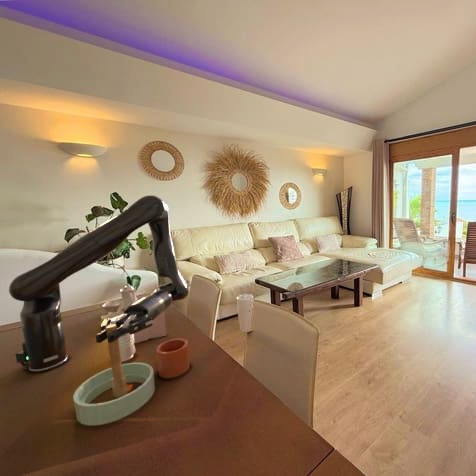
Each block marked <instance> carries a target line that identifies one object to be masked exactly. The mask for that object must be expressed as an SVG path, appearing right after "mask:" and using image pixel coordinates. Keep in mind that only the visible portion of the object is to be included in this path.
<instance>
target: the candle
mask: <svg viewBox="0 0 476 476" xmlns="http://www.w3.org/2000/svg"><path fill="white" fill-rule="evenodd" d="M117 317H118V316H117ZM117 317H114V318H112V319H111V320H113V319H116V318H117ZM118 340H119V348H120V355H121V362H122V363H123V362H126V361H128V360H131V359H132V358H133V357H134V355H135V353H136V351H137V350H136V347H135V343H134V342H135V341H134V334H132V335H130V334H129V333H128V334H126V335H125V336H121V337H119V338H118Z"/></svg>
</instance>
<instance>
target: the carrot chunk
mask: <svg viewBox="0 0 476 476" xmlns="http://www.w3.org/2000/svg"><path fill="white" fill-rule="evenodd" d="M127 391H128V394H129V393H131V392H132V391H134V384H133V383H131V384H127Z"/></svg>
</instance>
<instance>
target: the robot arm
mask: <svg viewBox="0 0 476 476" xmlns="http://www.w3.org/2000/svg"><path fill="white" fill-rule="evenodd" d="M169 210H170V209H169V206H168V204H167V202H166V201H164V200H162V198H161V197H158V196H156V195H145V196H142V197H140V198H139V199H138V200H136V201H134V202H133V203H132V204H131V205H129V206H128V208H126V209H125V210H122V212H121V213H119V214H118V215H116V216H114V217H113V218H110V219H109V220H107V221H105V222H104V223H102V224H100V225H99V226H97V227H95V228H94V229H92V230H90V231H88V232H87V233H85V234H84V235H82V236H80V237H79V238H77V239H76V240H75V241H73V242H72V243H70V244H69V245H67V246H66V247H65V248H63V249H62V250H61V251H59V252H58V253H57V254H56V255H55V256H53V257H51V258H50V259H48V260H47V261H46V262H44V263H42V264H40V265H38V266H36V267H34V268H32V269H29V270H27V271H25V272H23V273H21V274H19V275H17V276H16V277H15V278H13V279H12V280H11V283H10V284H9V287H8V293H9V295H10V297H11V298H12V299H14V300H16V301H19V302H23V305H22V308H21V311H20V312H19V319H20V324H21V330H22V334H23V340H24V341H23V342H22V344H21V346H22V350H19V351H18V352H15V360H16V363H17V364H18V363H19V364H20V365H21V366H22V367H23V368H24V367H25V368H26V370H29V372H31V373H42V372H45V371H49V370H52V369H55V368H57V367H60V366H61V365H63V364H64V363H66V362H67V361H68V359H69V356H68V352H67V351H68V350H67V346H66V338H65V333H64V332H65V331H64V326H63V319H62V314H61V305H62V296H61V286H60V284H61V283H62V282H63V281H65V280H66V279H68V278H70V277H71V276H73V275H74V274H76V273H78V272H80V271H82V270H84V269H86V268H88V267H90V266H91V265H93V264H95V263H96V262H99V261H100V260H102V259H103V258H105V257H106V256H108V255H109V254H111V253H112V252H114V251H115V250H117V249H118V248H119V247H120V246H121V245H122V244H123V243H124V242H125V241H126V240H127V239H128V238H129V237H130V235H132V233H134V232H135V231H137V230H138V229H140V228H141V227H143V226H145V225H147V224H148V227H149V230H150V233H151V239H152V252H153V253H152V255H153V261H154V265H155V269H156V272H157V273H156V274H157V276H158V277H159V278H169V280H170V281H171V282H168V283H167V282H166V283H164V284H161V285H158V286H157V287H156V289H155V290H153V292H151V293H150V294H148V295H146V296H144V297H142V298H140V299H138V301H137V302H135V303H134V304H132V305H130V306H129V307H128V308H127V309H126V310H125V312H124V314H123V315H121V316H118V317H117V318H116V319H113V320H111V319H110V318H105V319H104V320H102V322H101V324H100V332H99V333H97V334H96V335H95V341H96V344H101V343H103V342H104V341H106V340H107V339H108V340H107V344H108V343H112V342H114V341H115V340H117V339H118V338H119V337H121V336H125V335H126V334H128V333H129V334H130V335H132V334H135V333H137V332H139V331H141V330H144V329H146V328H148V327H151V326H152V321H153V320H154V319H155V318H156V317H158V316H159V315H160V314H161V313H162V312H163V311H164V312H165V311H166V310H167V309H168V308H169V307H171V305H172V303H174V302H176V301H181V300H184V299H186V298H188V295H189V293H190V287H189V285H188V283H187V281H186V279H185V278H184V276H183V274H182V272H181V270H180V268H179V265H178V260H177V256H176V253H175V248H174V244H173V240H172V235H171V229H170V217H169V216H170V214H169V213H170V212H169ZM112 324H116V326H117V329H116V330H114V331H113V332H111V333H110V334H108V335H107V333H106V327H107V326H108V325H112ZM135 328H137V329H135ZM134 329H135V330H134Z"/></svg>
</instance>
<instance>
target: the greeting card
mask: <svg viewBox="0 0 476 476" xmlns="http://www.w3.org/2000/svg"><path fill="white" fill-rule="evenodd" d="M136 302H137V301H136ZM166 325H167V324H166V315H165V310H164V311H163V312H162V313H161V314H160V315H159V316H158V317H156V318H155V319H154V320H153V321H152V326H151V327H148V328H146V329H144V330H141V331H139V332H137V333H135V334H134V341H135V342H134V344H138V343H141V342H145V341H148V340H150V339H157V338H161V337H166V336H167V326H166ZM135 329H137V328H135ZM135 329H134V330H135Z"/></svg>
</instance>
